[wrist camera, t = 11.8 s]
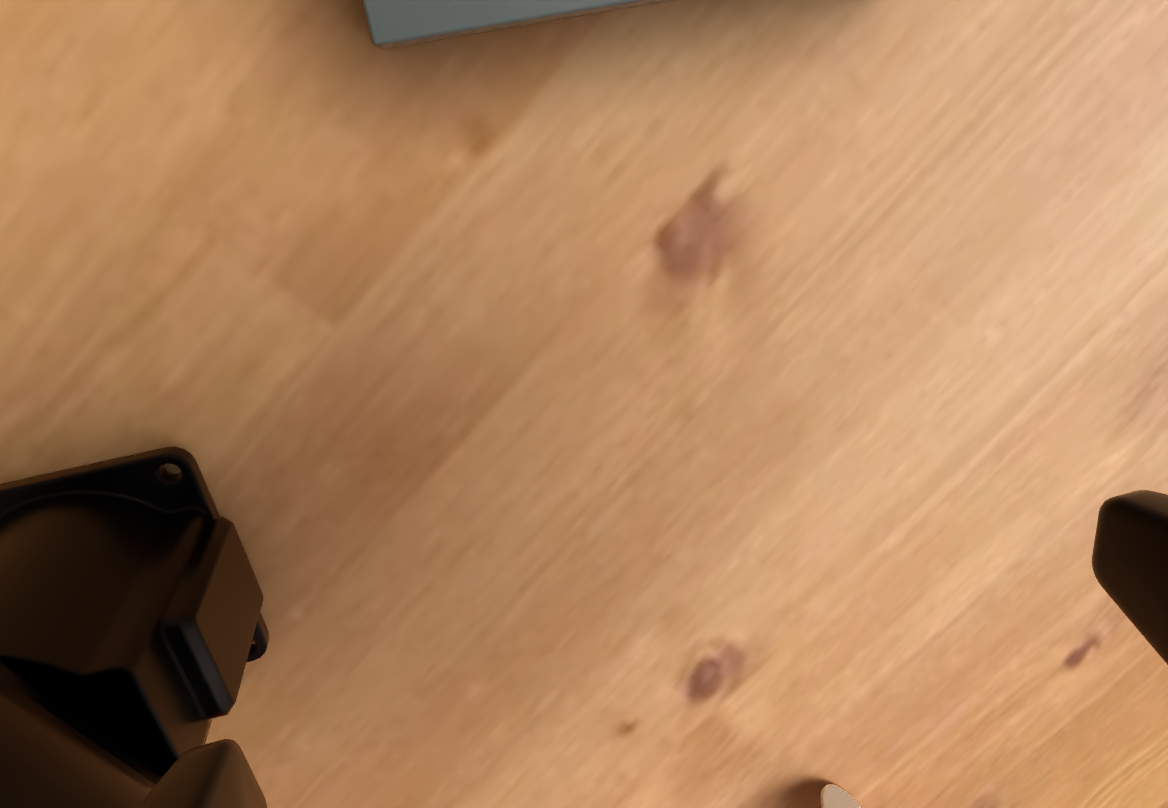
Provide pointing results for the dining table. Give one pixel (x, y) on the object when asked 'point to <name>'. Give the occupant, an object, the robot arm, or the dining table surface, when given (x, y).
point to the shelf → (470, 16)
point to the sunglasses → (836, 798)
